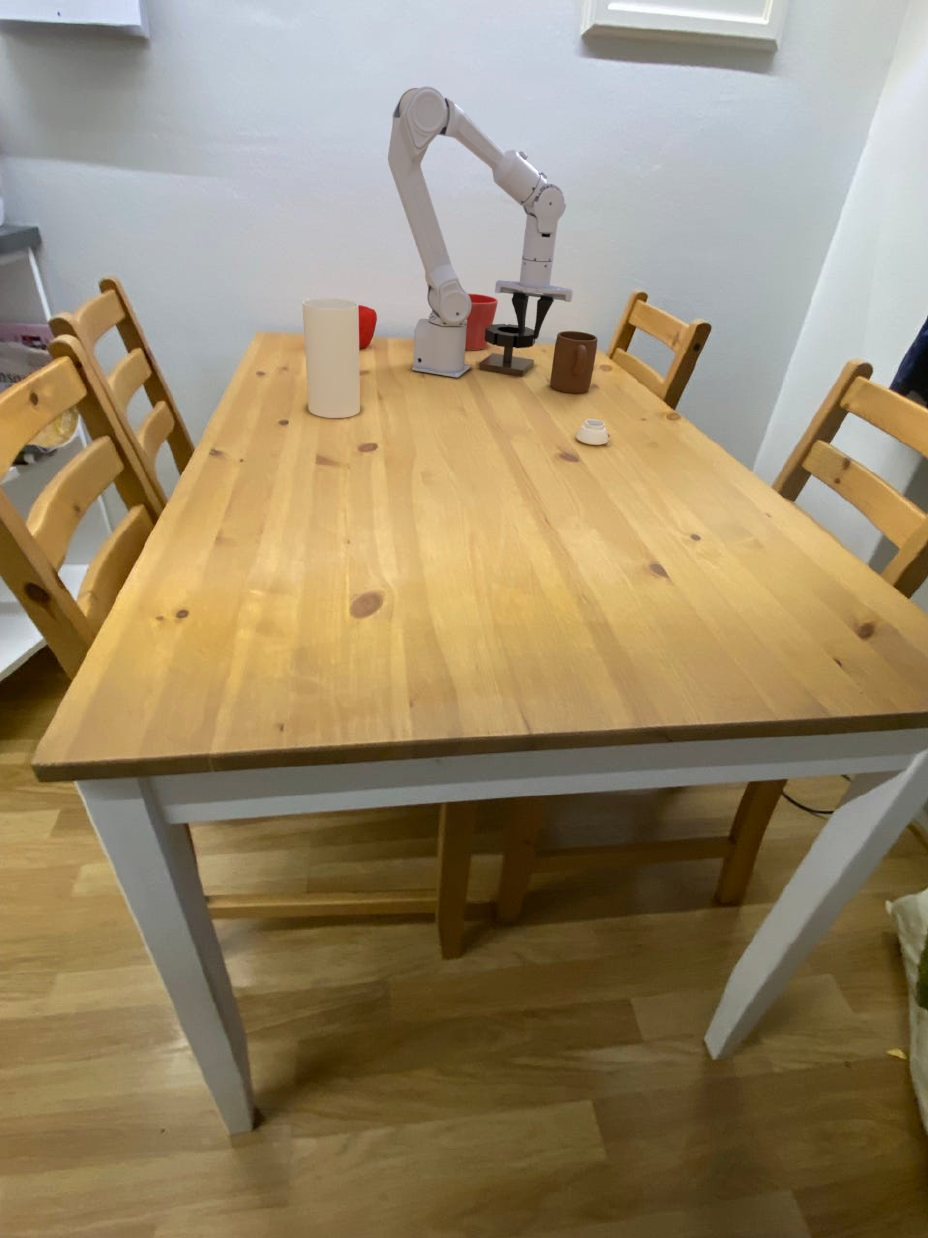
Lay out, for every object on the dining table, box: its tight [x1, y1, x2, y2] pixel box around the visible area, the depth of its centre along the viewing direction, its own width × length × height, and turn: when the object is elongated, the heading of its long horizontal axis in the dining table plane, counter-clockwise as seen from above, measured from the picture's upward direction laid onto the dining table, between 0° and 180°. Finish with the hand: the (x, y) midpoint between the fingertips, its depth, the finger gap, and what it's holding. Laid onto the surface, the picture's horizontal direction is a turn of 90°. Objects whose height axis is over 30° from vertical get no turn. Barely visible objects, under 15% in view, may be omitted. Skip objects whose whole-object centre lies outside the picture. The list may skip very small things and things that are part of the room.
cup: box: [302, 297, 361, 419], centre depth 108 cm, size 8×8×16 cm
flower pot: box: [465, 293, 499, 351], centre depth 150 cm, size 11×11×10 cm
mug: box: [549, 330, 599, 394], centre depth 127 cm, size 12×8×9 cm, turn 0°
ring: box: [484, 323, 536, 349], centre depth 137 cm, size 10×10×2 cm
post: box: [478, 347, 535, 377], centre depth 139 cm, size 9×9×6 cm
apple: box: [358, 304, 378, 349], centre depth 143 cm, size 9×9×8 cm
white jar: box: [575, 418, 610, 446], centre depth 108 cm, size 5×3×5 cm
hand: (528, 336), depth 136 cm, fingers closed on ring, 2 cm apart
